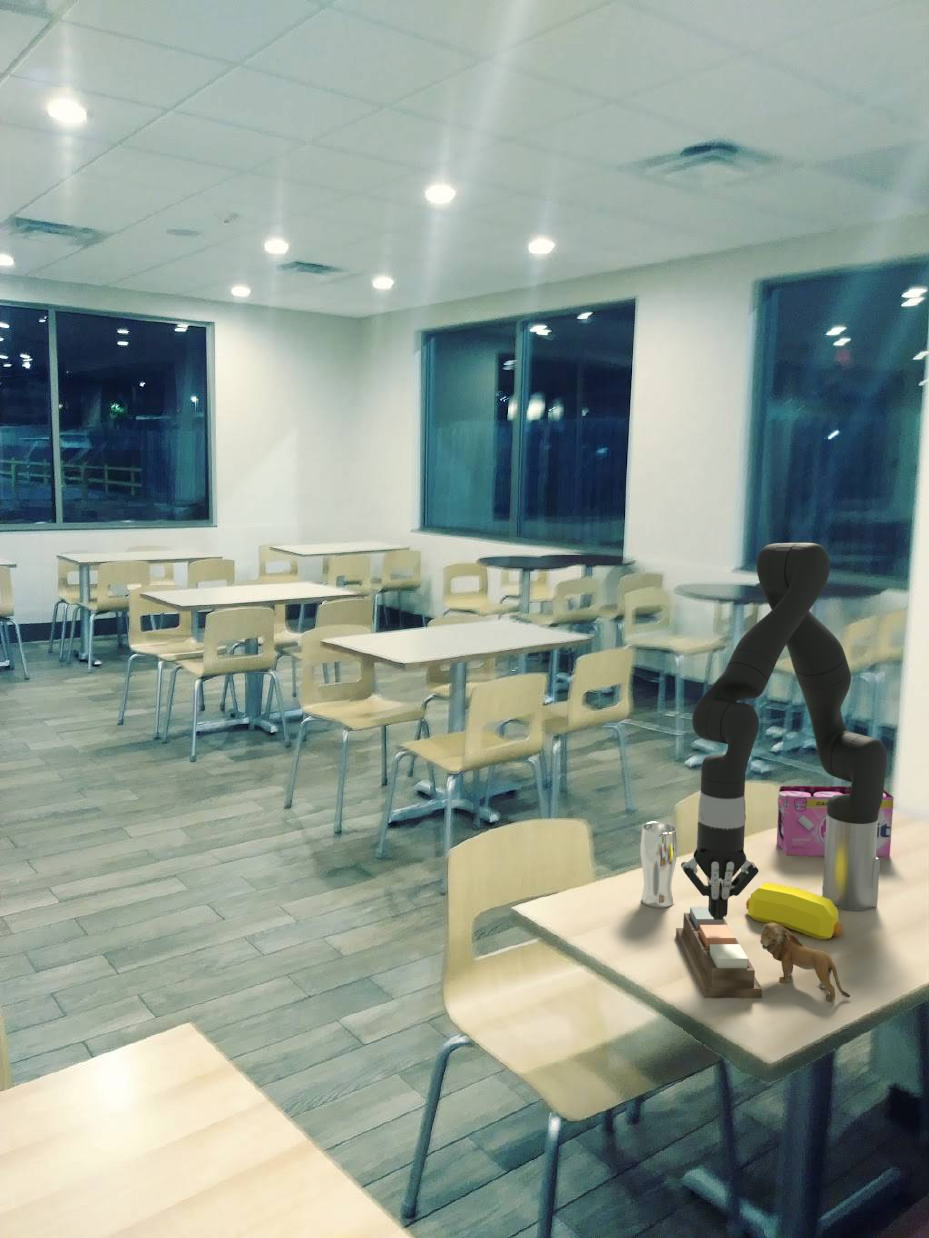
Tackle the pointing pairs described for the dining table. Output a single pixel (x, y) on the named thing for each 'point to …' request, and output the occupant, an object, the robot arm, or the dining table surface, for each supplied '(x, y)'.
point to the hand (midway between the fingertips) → (717, 917)
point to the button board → (712, 978)
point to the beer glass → (658, 863)
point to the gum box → (820, 819)
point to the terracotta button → (716, 935)
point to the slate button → (703, 917)
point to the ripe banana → (795, 910)
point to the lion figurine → (799, 957)
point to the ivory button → (728, 956)
